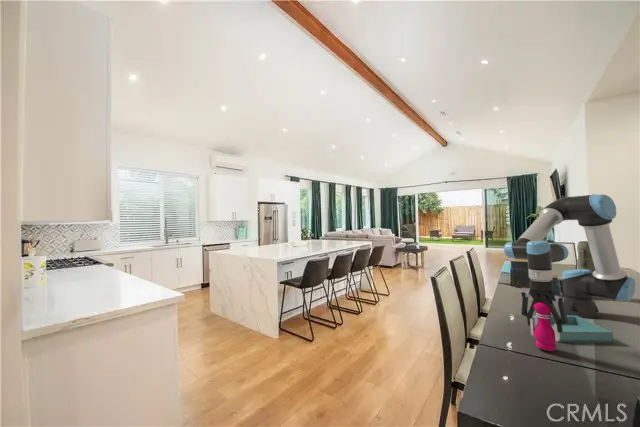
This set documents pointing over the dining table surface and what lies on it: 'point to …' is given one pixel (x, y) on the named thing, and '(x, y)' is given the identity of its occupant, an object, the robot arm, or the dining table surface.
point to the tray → (581, 331)
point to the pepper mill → (544, 328)
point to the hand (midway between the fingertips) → (545, 336)
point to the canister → (556, 285)
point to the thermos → (585, 258)
